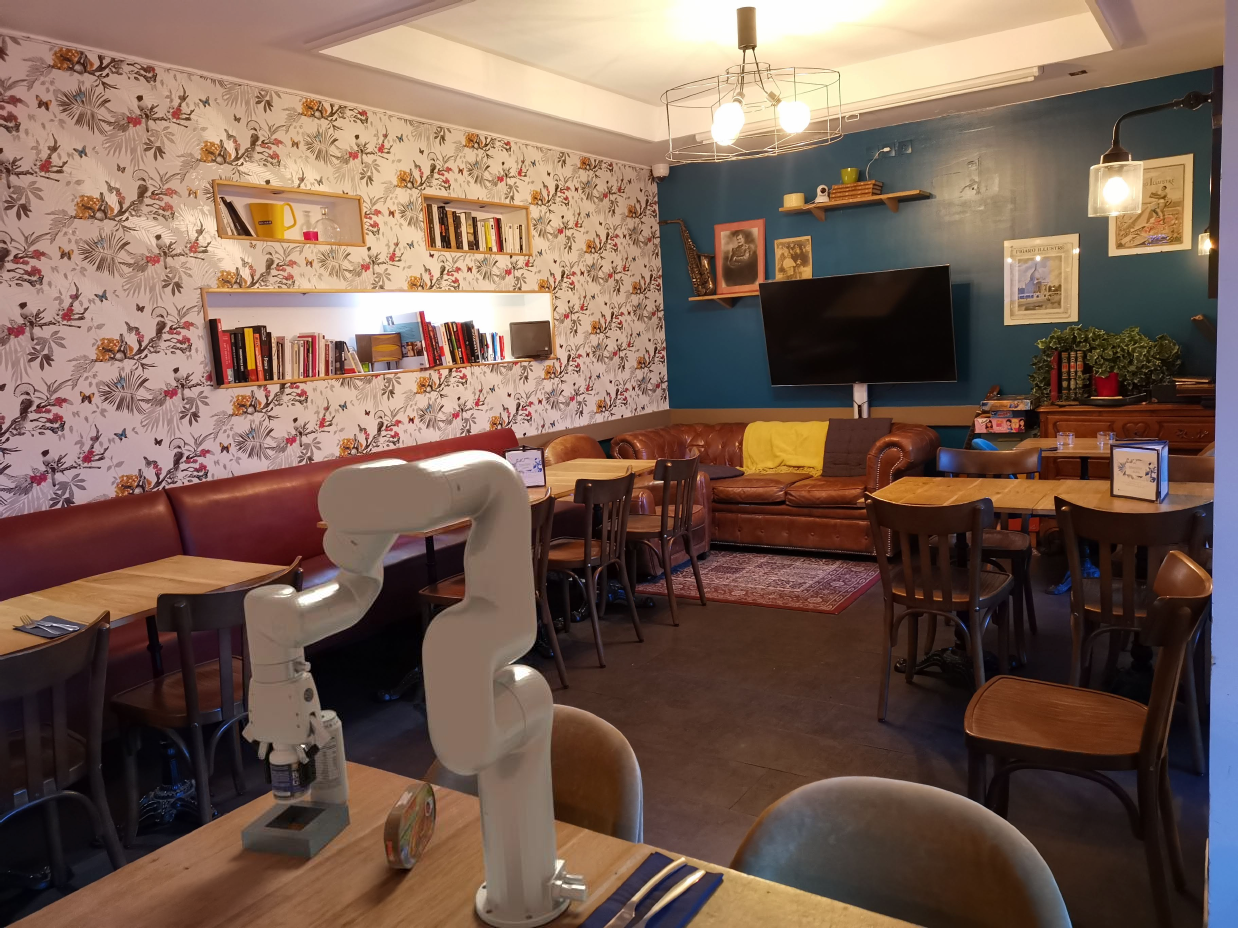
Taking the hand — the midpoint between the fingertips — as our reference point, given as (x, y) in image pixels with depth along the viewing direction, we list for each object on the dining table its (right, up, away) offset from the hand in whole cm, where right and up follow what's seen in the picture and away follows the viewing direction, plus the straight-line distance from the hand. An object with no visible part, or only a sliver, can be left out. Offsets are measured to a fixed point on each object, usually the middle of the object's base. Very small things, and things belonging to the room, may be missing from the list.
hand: (291, 780), depth 136 cm
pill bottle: (0, -3, 0) cm, 3 cm away
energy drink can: (+2, -8, +11) cm, 14 cm away
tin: (+20, -9, -5) cm, 22 cm away
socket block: (+1, -9, +1) cm, 9 cm away
